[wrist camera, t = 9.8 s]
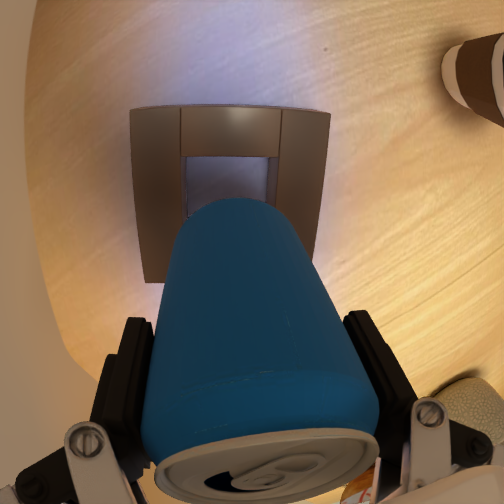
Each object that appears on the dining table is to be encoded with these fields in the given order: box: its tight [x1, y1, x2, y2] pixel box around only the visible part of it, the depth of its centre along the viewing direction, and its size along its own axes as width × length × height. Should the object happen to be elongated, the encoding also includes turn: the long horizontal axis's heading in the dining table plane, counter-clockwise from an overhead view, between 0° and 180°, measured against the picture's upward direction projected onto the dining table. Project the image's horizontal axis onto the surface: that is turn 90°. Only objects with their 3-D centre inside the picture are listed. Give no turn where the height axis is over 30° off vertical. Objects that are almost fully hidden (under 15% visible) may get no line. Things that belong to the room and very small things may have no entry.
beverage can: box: [140, 198, 379, 504], centre depth 11 cm, size 6×6×12 cm
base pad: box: [130, 104, 331, 283], centre depth 24 cm, size 14×14×4 cm
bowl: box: [340, 465, 375, 504], centre depth 67 cm, size 25×25×8 cm
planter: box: [434, 378, 504, 446], centre depth 44 cm, size 21×21×19 cm
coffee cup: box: [441, 33, 504, 128], centre depth 17 cm, size 11×11×12 cm
